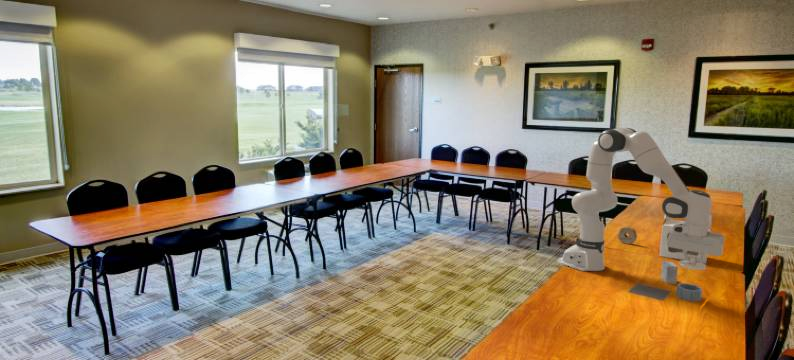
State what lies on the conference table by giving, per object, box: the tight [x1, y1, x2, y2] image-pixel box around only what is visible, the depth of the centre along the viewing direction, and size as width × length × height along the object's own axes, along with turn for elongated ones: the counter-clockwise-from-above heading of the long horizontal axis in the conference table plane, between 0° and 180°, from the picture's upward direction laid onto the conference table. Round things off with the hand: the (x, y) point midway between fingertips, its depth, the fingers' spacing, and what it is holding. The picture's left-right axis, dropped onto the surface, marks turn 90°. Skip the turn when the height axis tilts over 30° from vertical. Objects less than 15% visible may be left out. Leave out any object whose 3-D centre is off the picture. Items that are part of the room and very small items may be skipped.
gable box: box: [659, 214, 713, 265], centre depth 272 cm, size 22×13×28 cm, turn 57°
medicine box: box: [660, 261, 679, 285], centre depth 235 cm, size 8×4×9 cm, turn 168°
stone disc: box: [617, 226, 638, 245], centre depth 298 cm, size 10×4×10 cm, turn 41°
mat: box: [627, 283, 672, 301], centre depth 222 cm, size 14×14×1 cm
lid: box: [678, 256, 707, 271], centre depth 214 cm, size 10×10×4 cm
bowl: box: [675, 282, 703, 302], centre depth 216 cm, size 9×9×5 cm
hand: (692, 261), depth 214 cm, fingers closed on lid, 3 cm apart
